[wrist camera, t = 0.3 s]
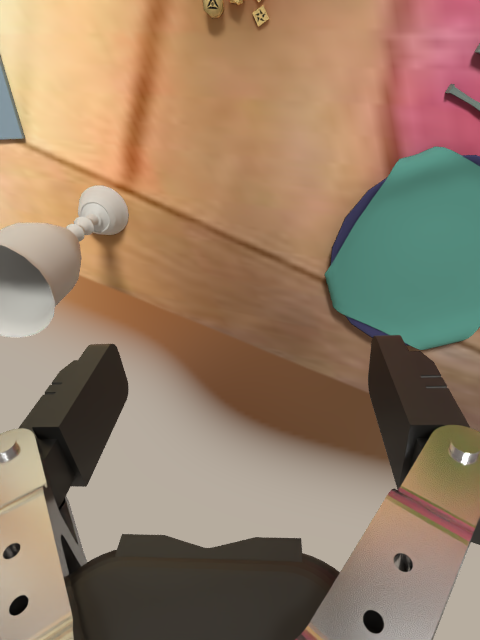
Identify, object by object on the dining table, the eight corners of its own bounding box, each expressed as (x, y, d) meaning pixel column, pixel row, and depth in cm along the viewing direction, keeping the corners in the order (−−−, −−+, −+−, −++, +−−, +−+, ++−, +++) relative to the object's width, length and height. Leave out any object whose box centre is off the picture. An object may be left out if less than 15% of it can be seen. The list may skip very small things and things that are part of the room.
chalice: (70, 237, 42) (-48, 328, 26) (64, 170, 38) (-77, 230, 23) (139, 247, 42) (60, 345, 26) (139, 182, 38) (48, 250, 23)
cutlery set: (292, 293, 43) (293, 303, 41) (492, -33, 29) (509, -41, 27) (439, 361, 47) (446, 373, 45) (684, 100, 32) (711, 101, 30)
